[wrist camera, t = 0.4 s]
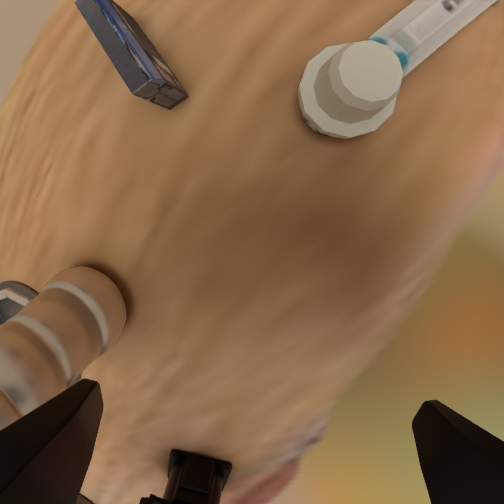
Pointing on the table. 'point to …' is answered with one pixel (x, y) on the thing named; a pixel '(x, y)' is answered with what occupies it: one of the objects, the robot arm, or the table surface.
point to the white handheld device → (377, 67)
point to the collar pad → (16, 302)
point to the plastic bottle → (56, 339)
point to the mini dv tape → (132, 53)
